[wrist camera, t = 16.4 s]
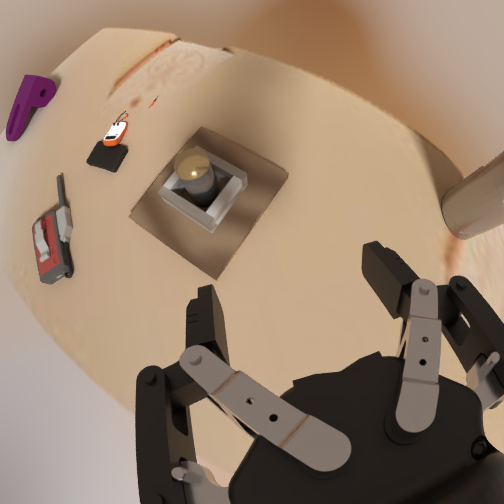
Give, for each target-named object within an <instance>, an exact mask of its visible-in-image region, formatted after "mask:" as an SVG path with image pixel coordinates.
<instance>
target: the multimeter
mask: <svg viewBox="0 0 504 504" xmlns="http://www.w3.org/2000/svg"><path fill="white" fill-rule="evenodd" d="M156 99H157V98H156ZM156 99H155V100H154V102H156ZM154 102H153V103H154ZM153 103H152V104H151V106H152V105H153ZM151 106H150V107H151ZM150 107H149V108H150ZM125 112H126V111H125ZM125 112H124V113H125ZM125 114H127V113H125ZM121 115H122V114H121ZM121 115H120V116H121ZM120 116H119V117H120ZM127 116H128V114H127ZM127 116H126V117H127ZM126 117H125V118H126ZM118 119H119V118H118ZM118 119H117V120H118ZM123 119H124V118H123ZM121 120H122V119H121ZM121 120H120V121H121ZM120 121H119V122H117V121H116V122H115V123H113V125H112V127H111V129H110V131H109V132H108V133H107V135H106V136H105V137H104V139H103V142H102V141H99V142H97V144H96V146H95V147H94V149H93V151H92V152H91V154H90V156H89V157H88V159H87V161H86V162H87V163H88V164H89V165H91V166H96V167H99V168H103V169H106V170H108V171H111V172H117V170H118V168H119V166H120V165H121V163H122V161H123V159H124V158H125V156H126V154H127V153H128V149H127V148H126V147H124V146H119V145H117V144H118V143H119V142H120V141H121V139H122V137H123V136H124V134H125V132H126V129H127V123H126V122H120Z"/></svg>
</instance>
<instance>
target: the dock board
mask: <svg viewBox="0 0 504 504" xmlns="http://www.w3.org/2000/svg"><path fill="white" fill-rule="evenodd" d="M191 148H198V149H201V150H203V151H205V152H206V154H207V155H208V157H209V160H210V163H211V166H212V169H213V172H214V175H215V178H216V181H217V184H218V187H219V190H220V194H219V195H218V197H217V198H216V199H215V201H214V202H213V203H212V205H211V206H210V207H199V206H197V205H196V204H195V203H194V202H193V200H192V199H191V197H190V195H189V194H188V192H187V190H186V189H185V187H184V186H183V184H182V182H181V181H180V179H179V178H178V176H177V174H176V173H175V170H174V162H175V160H176V158H177V156H178V155H179V154H180V153H181V152H183V151H185V150H187V149H191ZM288 175H289V173H288V172H286V171H284V170H282V169H281V168H279V167H277V166H275V165H274V164H272V163H270V162H268V161H266V160H265V159H263V158H261V157H259V156H257V155H255V154H254V153H252V152H250V151H248V150H246V149H244V148H242V147H240V146H238V145H236V144H234V143H233V142H231V141H229V140H227V139H225V138H223V137H221V136H219V135H217V134H215V133H212V132H210V131H208V130H206V129H204V128H202V127H201V128H200V129H199V130H198V131H197V132H196V133H195V134H194V135H193V137H192V138H191V139H190V140H189V141H188V142H187V143H186V144H185V146H184V147H183V148H182V149H181V150H180V151H179V152H178V154H177V155H176V156H175V157H174V158H173V159H172V161H171V162H170V163H169V164H168V165H167V167H166V168H165V169H164V170H163V172H162V173H161V174H160V175H159V177H158V178H157V179H156V180H155V182H154V183H153V184H152V185H151V187H150V188H149V189H148V191H147V192H146V193H145V195H144V196H143V197H142V199H141V200H140V201H139V203H138V204H137V205H136V207H135V208H134V209H133V211H132V212H131V214H130V215H129V216H128V217H129V218H131V219H132V220H133V221H135V222H136V223H137V224H139V225H140V226H141V227H143V228H144V229H145V230H147V231H148V232H149V233H151V234H152V235H153V236H155V237H156V238H157V239H159V240H160V241H161V242H163V243H164V244H165V245H167V246H168V247H170V248H171V249H172V250H174V251H175V252H177V253H178V254H179V255H181V256H182V257H183V258H185V259H186V260H188V261H189V262H191V263H192V264H193V265H195V266H196V267H198V268H199V269H200V270H202V271H203V272H205V273H206V274H208V275H209V276H210V277H212V278H213V279H215V280H217V279H218V278H219V276H220V275H221V273H222V272H223V270H224V269H225V267H226V266H227V264H228V263H229V262H230V260H231V259H232V257H233V256H234V254H235V253H236V251H237V250H238V248H239V247H240V246H241V244H242V243H243V241H244V240H245V238H246V237H247V235H248V234H249V233H250V231H251V230H252V228H253V227H254V225H255V224H256V222H257V221H258V220H259V218H260V217H261V215H262V214H263V212H264V211H265V210H266V208H267V207H268V205H269V204H270V202H271V201H272V200H273V198H274V197H275V195H276V194H277V192H278V191H279V190H280V188H281V187H282V185H283V184H284V183H285V181H286V180H287V178H288Z"/></svg>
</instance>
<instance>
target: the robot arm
mask: <svg viewBox="0 0 504 504" xmlns="http://www.w3.org/2000/svg"><path fill="white" fill-rule="evenodd" d="M442 212H443V217H444V219H445V222H446V224H447V226H448V228H449V229H450V231H451V232H452V233H453V234H454V235H455V236H456V237H458V238H460V239H464V240H465V239H469V238H471V237H474V236H476V235H479V234H481V233H483V232H486V231H488V230H490V229H493V228H495V227H497V226H500V225H502V224H504V151H503V152H502V153H501V154H499V155H498V156H497V157H495V158H494V159H493V160H492V161H490V162H489V163H488V164H486V165H485V166H482V167H480V168H479V169H477V170H476V171H475V172H473V173H472V174H471V175H469V176H468V177H466V178H465V179H464V180H462V181H461V182H459V183H458V184H457V185H455V186H454V187H453V189H452V190H450V191H449V192H447V193H446V194H445V196H444V198H443V201H442ZM362 273H363V276H364V278H365V279H366V280H367V282H368V283H369V285H370V286H371V287H372V289H373V290H374V292H375V293H376V294H377V296H378V297H379V299H380V300H381V302H382V303H383V304H384V306H385V307H386V309H387V310H388V312H389V313H390V315H391V316H392V318H393V319H396V318H398V317H402V319H403V321H402V325H401V332H400V338H399V344H398V350H397V354H396V357H394V356H383V357H382V355H381V354H380V352H379V351H378V352H376V353H373V354H371V355H368V356H365V357H363V358H360V359H358V360H357V361H356V362H354V363H353V364H351V365H350V366H348V367H346V368H345V369H343V370H342V371H339V372H332V373H322V374H314V375H310V376H307V377H304V378H300V379H297V380H293V386H294V387H292V388H290V389H289V390H287V391H286V392H284V393H283V394H282V395H281V396H280V397H278V396H277V395H275V394H274V393H272V392H271V391H269V390H268V389H266V388H265V387H263V386H262V385H261V384H259V383H258V382H256V381H255V380H253V379H252V378H251V377H249V376H248V375H247V374H245V373H244V372H242V371H235V370H234V369H232V368H231V367H230V363H229V355H228V347H227V339H226V331H225V322H224V315H223V310H222V307H221V304H220V302H219V299H218V296H217V294H216V291H215V289H214V286H213V285H212V284H211V285H207V286H203V287H199V288H198V298H196V299H192V300H190V302H189V304H188V306H187V308H186V317H187V318H186V349H185V351H184V352H183V353H182V354H181V356H180V360H179V361H178V362H176V363H174V364H173V365H170V366H168V367H166V368H164V369H161V368H160V367H158V366H148V367H146V368H144V369H143V370H141V372H140V373H139V374H138V376H137V380H136V414H135V421H136V423H135V427H136V460H137V475H138V487H139V497H140V503H141V504H504V454H503V453H501V452H500V451H498V450H497V449H496V448H495V447H494V446H492V445H491V444H490V442H489V441H488V440H487V438H486V436H485V433H484V427H483V412H484V411H486V410H487V409H493V408H495V407H497V406H498V405H499V404H500V403H501V402H502V401H503V400H504V324H503V322H502V321H501V319H500V318H499V317H498V315H497V314H496V313H495V311H494V310H493V309H492V308H491V306H490V305H489V304H488V303H487V301H486V300H485V299H484V298H483V296H482V295H481V294H480V293H479V292H478V290H477V289H476V288H475V287H474V286H473V284H472V283H471V282H470V281H469V280H468V279H467V278H465V277H463V276H453V277H452V278H451V279H450V281H449V284H448V285H439V286H436V285H435V284H434V283H433V282H432V281H430V280H427V279H420V278H419V277H418V276H417V275H416V274H415V272H414V271H413V270H412V269H411V268H410V267H409V266H408V265H407V264H406V263H405V262H404V261H403V259H402V258H400V256H399V255H398V254H397V253H396V252H395V251H393V250H391V249H389V248H387V247H386V248H384V247H383V246H382V245H381V244H380V243H379V242H378V241H374V242H370V243H367V244H364V245H363V252H362ZM461 314H463V315H464V317H465V318H466V319H467V321H468V322H469V325H470V328H469V327H468V325H467V324H466V322H465V321H464V320H463V318H462V317H461ZM441 331H442V333H443V334H444V336H445V337H446V339H447V341H448V342H449V344H450V345H451V347H452V349H453V350H454V352H455V354H456V355H457V357H458V359H459V361H460V362H461V364H462V366H463V368H464V369H465V371H466V373H467V376H466V382H467V385H466V386H464V385H462V384H460V383H457V382H455V381H453V380H450V379H448V378H446V377H443V376H441V375H439V365H440V351H441ZM204 398H207V399H208V400H209V401H210V402H211V403H212V404H213V405H215V406H216V407H217V408H218V409H219V410H220V411H221V412H223V413H224V414H225V415H226V416H227V417H228V418H229V419H231V420H232V421H233V422H234V423H235V424H236V425H237V426H238V427H239V428H240V429H241V430H243V431H244V432H245V433H246V434H248V435H249V436H250V437H251V438H253V439H254V441H253V443H252V445H251V446H250V448H249V450H248V452H247V453H246V455H245V457H244V459H243V460H242V462H241V464H240V465H239V467H238V468H237V470H236V472H235V473H234V475H233V477H232V478H231V481H230V483H229V487H222V486H220V485H219V484H218V483H217V482H216V480H215V478H214V475H213V474H212V472H211V471H210V470H209V469H207V468H206V467H204V466H201V465H199V464H197V460H196V454H195V447H194V440H193V433H192V425H191V417H190V408H189V405H191V404H193V403H195V402H198V401H200V400H202V399H204Z"/></svg>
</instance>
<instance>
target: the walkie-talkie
mask: <svg viewBox="0 0 504 504" xmlns="http://www.w3.org/2000/svg"><path fill="white" fill-rule="evenodd" d="M57 187H58V196H59V210H57V211H54V210H52V211H49V212H48V213H47V214H45V215H44V216H43V217H39V218H38V219H37V221H36V222H35V223H34V224H33V227H32V233H33V241H34V248H35V253H36V254H35V255H36V259H37V260H36V261H37V266H38V271H39V276H40V281H41V282H42V283H46V284H53V283H54V282H56V281H58V280H59V279H61V278H62V277H64V276H65V277H66V278H71V277H72V275H73V270H72V266H71V265H72V264H71V261H70V257H69V256H70V255H69V252H68V242H69V240H70V236H71V233H72V229H73V227H72V222H71V216H70V209H69V208H68V207H66V204H65V202H64V195H63V187H62V180H61V176H60V175H58V176H57ZM68 274H69V275H68Z"/></svg>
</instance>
